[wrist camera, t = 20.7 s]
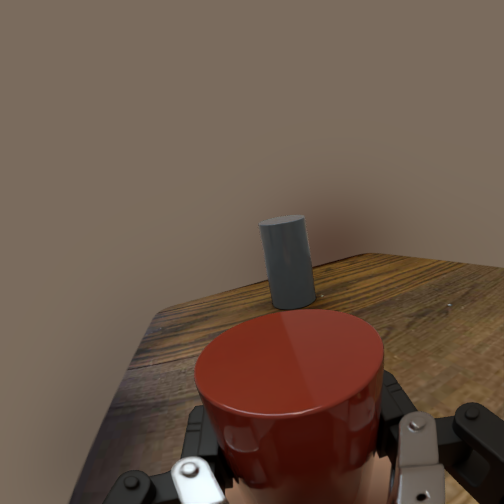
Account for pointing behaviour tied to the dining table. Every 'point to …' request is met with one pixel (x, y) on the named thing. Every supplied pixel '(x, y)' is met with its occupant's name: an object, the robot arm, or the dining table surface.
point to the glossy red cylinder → (296, 405)
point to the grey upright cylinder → (288, 261)
